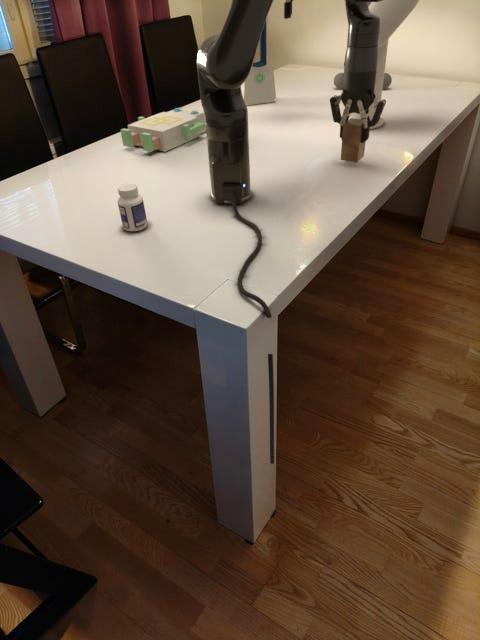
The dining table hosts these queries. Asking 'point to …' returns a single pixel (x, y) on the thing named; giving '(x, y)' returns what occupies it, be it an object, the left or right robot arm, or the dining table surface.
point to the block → (352, 140)
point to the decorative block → (164, 130)
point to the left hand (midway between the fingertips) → (353, 140)
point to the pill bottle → (131, 208)
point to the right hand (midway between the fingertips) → (272, 17)
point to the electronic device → (260, 76)
